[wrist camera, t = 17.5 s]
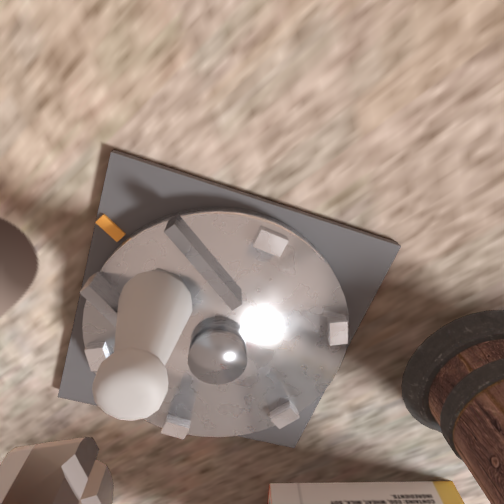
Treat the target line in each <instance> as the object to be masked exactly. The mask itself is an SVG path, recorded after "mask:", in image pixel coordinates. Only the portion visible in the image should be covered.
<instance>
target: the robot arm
mask: <svg viewBox="0 0 504 504" xmlns="http://www.w3.org/2000/svg"><path fill="white" fill-rule="evenodd" d="M98 452H99V448H98V446H97V445H96V443H95V441H94V439H93V438H91V437H81V438H74V439H67V440H60V441H52V442H45V443H39V444H35V445H28V446H20V447H16V448H14V449H13V450H11V451H10V452H9V453H7V455H6V457H5V458H4V460H3V461H2V463H1V465H0V504H112V502H113V481H112V476H111V473H110V471H109V468H108V466H107V465H106V464H104V463H102V462H101V461H99V460H97V459H96V457H97V454H98Z"/></svg>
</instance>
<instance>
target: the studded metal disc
mask: <svg viewBox="0 0 504 504" xmlns="http://www.w3.org/2000/svg"><path fill="white" fill-rule="evenodd" d="M156 268H160V269H163V270H165V271H168V272H171V273H173V274H176V275H179V277H180V278H181V279H182V281H183V282H184V284H185V285H186V287H187V288H188V290H189V291H190V293H191V299H192V310H193V311H192V313H191V315H190V317H189V319H188V321H187V323H186V325H185V327H184V329H183V331H182V333H181V335H180V337H179V339H178V341H177V343H176V345H175V347H174V349H173V351H172V353H171V355H170V357H169V359H168V361H167V363H166V365H165V367H166V370H167V375H168V383H169V384H168V391H167V394H166V396H165V398H164V400H163V402H162V404H161V406H160V408H159V410H157V411H156V412H155V413H153V414H152V415H151V416H149V417H148V418H143V420H145V421H147V422H150V423H152V424H154V425H156V426H158V427H161V428H162V429H161V433H162V434H165V435H169V436H172V437H176V438H179V439H183V440H184V438H185V437H186V435H193V436H201V437H230V436H238V435H244V434H250V433H254V432H257V431H261V430H264V429H267V428H270V427H272V426H275V425H276V426H277V427H278V428H279V429H281V428H283V427H284V426H286V425H288V424H290V423H291V422H293V421H295V420H297V419H299V418H300V417H299V412H301V411H302V410H304V409H305V408H306V407H308V406H309V405H310V404H311V403H312V402H314V401H315V400H316V399H317V398H318V397H319V396H320V395H321V394H322V393H323V392H324V390H325V389H326V388H327V386H328V385H329V384H330V383H331V381H332V380H333V378H334V377H335V375H336V373H337V371H338V369H339V368H340V365H341V363H342V360H343V358H344V355H345V352H346V348H347V344H348V338H349V314H348V308H347V304H346V299H345V296H344V293H343V291H342V289H341V286H340V284H339V282H338V280H337V278H336V276H335V274H334V272H333V270H332V269H331V267H330V265H329V264H328V262H327V260H326V259H325V257H324V256H323V255H322V254H321V253H320V251H319V250H318V249H317V248H316V247H315V246H314V245H313V244H312V243H311V242H310V241H309V240H308V239H307V238H305V237H304V236H303V235H302V234H300V233H299V232H297V231H296V230H294V229H293V228H291V227H290V226H288V225H286V224H284V223H282V222H280V221H278V220H276V219H274V218H272V217H269V216H266V215H263V214H260V213H257V212H253V211H249V210H244V209H239V208H228V207H202V208H195V209H189V210H184V211H180V212H176V213H173V214H170V215H167V216H164V217H162V218H159V219H157V220H155V221H153V222H151V223H148V224H147V225H145V226H144V227H142V228H140V229H139V230H137V231H136V232H134V233H133V234H132V235H130V236H129V237H128V238H127V239H126V240H124V241H123V242H122V243H121V244H120V245H119V246H118V247H117V248H116V249H115V251H114V252H113V253H112V254H111V255H110V256H109V258H108V259H107V261H106V262H105V264H104V265H103V267H102V269H101V270H100V272H96V273H95V274H94V275H92V276H91V277H89V279H88V280H87V282H86V283H85V285H84V286H83V288H82V289H81V291H80V292H79V293H80V294H81V295H82V296H83V297H84V298H85V299H86V303H85V307H84V312H83V323H82V328H83V341H84V345H85V349H84V351H85V354H86V357H87V360H88V364H89V367H90V370H91V372H92V371H94V372H95V374H96V373H97V371H98V368H99V366H100V364H101V363H102V361H104V360H105V359H106V358H107V357H109V356H110V355H111V354H113V353H114V345H115V334H116V323H117V312H118V301H119V297H120V294H121V292H122V289H123V287H124V285H125V284H126V283H127V282H128V281H129V280H131V279H132V278H133V277H134V276H136V275H137V274H139V273H143V272H147V271H151V270H154V269H156Z"/></svg>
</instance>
